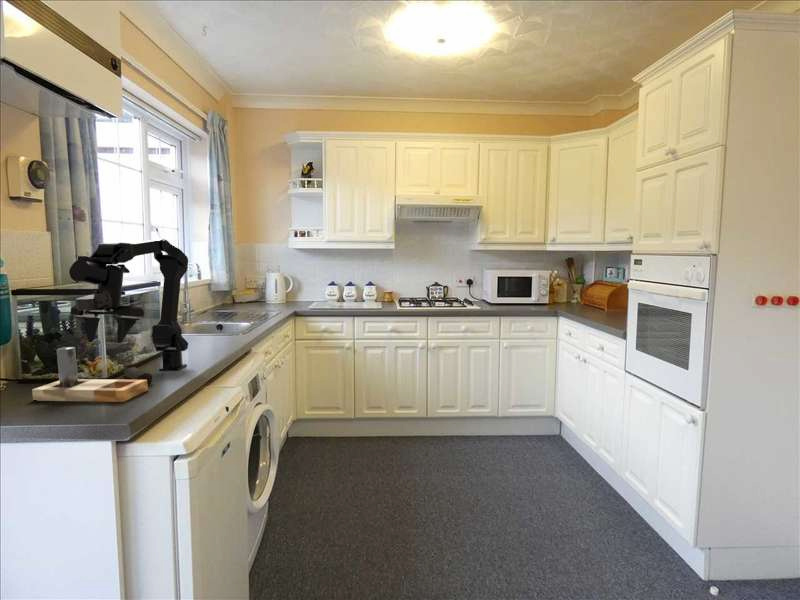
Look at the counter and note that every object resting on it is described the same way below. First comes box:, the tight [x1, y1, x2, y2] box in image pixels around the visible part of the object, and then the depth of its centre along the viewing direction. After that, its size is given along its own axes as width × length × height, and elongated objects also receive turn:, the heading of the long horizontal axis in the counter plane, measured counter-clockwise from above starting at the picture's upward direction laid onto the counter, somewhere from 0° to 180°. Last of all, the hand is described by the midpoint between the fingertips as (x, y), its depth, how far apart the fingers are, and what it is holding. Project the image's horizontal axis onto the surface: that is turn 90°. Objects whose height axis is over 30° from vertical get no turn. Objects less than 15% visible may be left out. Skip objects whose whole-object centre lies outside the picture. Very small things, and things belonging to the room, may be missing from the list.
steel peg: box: [56, 346, 79, 388], centre depth 119 cm, size 4×4×13 cm
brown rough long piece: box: [122, 361, 153, 386], centre depth 134 cm, size 19×4×5 cm, turn 45°
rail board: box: [31, 378, 149, 403], centre depth 119 cm, size 10×25×3 cm, turn 87°
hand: (104, 342), depth 120 cm, fingers open, 9 cm apart
